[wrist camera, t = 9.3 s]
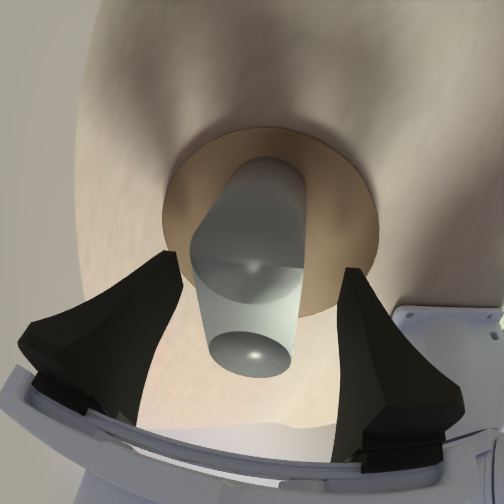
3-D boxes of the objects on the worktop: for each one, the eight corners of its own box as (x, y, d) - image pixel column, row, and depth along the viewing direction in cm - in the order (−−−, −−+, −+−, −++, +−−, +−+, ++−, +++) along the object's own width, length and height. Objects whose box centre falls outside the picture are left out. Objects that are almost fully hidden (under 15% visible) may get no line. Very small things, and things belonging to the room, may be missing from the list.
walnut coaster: (393, 139, 11) (398, 144, 10) (353, 316, 17) (354, 326, 17) (154, 130, 12) (146, 134, 12) (185, 298, 19) (181, 307, 18)
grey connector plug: (226, 155, 12) (181, 207, 8) (309, 159, 11) (309, 215, 7) (238, 325, 18) (219, 392, 14) (292, 331, 18) (284, 401, 14)
